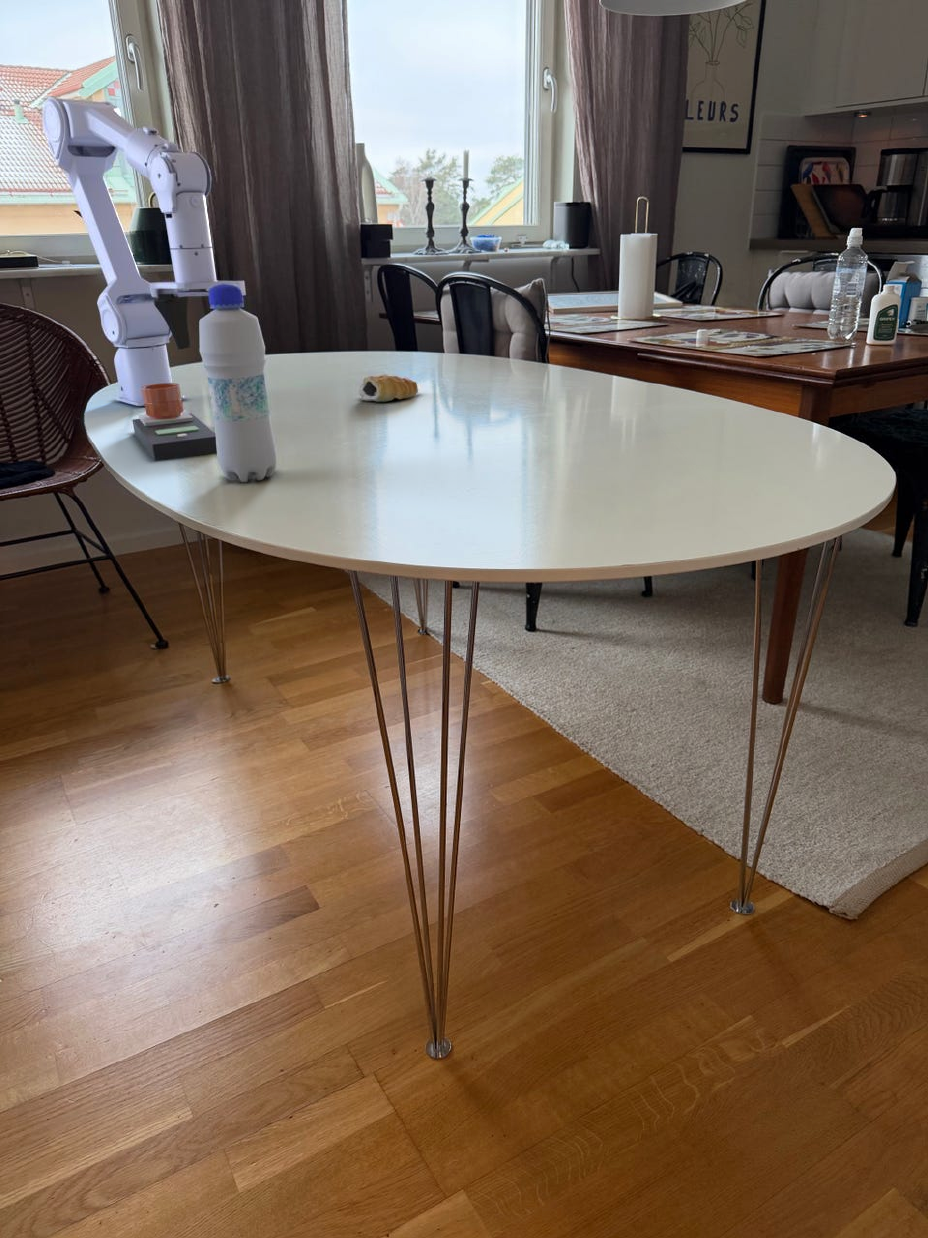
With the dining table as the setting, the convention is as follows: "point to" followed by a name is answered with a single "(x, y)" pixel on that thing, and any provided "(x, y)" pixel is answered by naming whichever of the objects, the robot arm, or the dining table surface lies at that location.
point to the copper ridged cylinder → (162, 400)
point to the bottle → (237, 386)
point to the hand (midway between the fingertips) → (206, 348)
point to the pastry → (387, 388)
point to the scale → (175, 436)
